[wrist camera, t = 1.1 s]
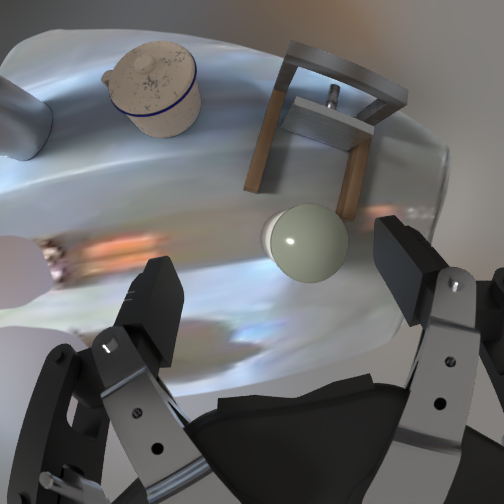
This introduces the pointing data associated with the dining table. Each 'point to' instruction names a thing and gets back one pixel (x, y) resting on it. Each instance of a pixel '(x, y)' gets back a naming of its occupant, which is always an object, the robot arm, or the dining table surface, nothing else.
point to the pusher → (326, 122)
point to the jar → (306, 242)
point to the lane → (381, 108)
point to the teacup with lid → (156, 88)
